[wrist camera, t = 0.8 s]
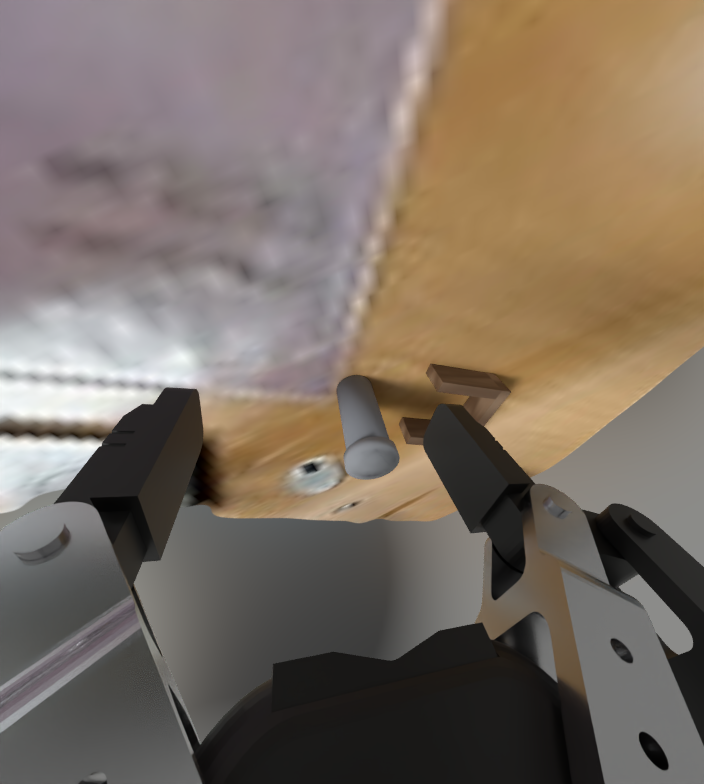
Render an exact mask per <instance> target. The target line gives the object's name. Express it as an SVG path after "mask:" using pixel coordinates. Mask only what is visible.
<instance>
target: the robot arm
mask: <svg viewBox="0 0 704 784" xmlns="http://www.w3.org/2000/svg"><path fill="white" fill-rule="evenodd" d="M202 442H203V423H202V415H201V407H200V399H199V393H198V391H197V389H185V388H168V387H167V388H165V389H164V390H163V391H162V393H161V394H160V396H159V397H158V399H157V400H156V402H155V403H154V405H150V404H142V405H140V406H139V407H137V408H135V409H134V410H132V411H131V412H129V413H128V414H126V415H124V416H123V417H122V419H121V420H120V421H119V422H118V424H117V425H116V426H115V427H114V429H113V430H112V434H109V435H108V436H107V438H106V439H105V440H104V441H103V443H102V446H101V447H99V448H98V449H97V450H96V451H95V453H94V454H93V455H92V456H91V458H90V459H89V460H88V462H87V463H86V464H85V465H84V467H83V468H82V469H81V470H80V472H79V473H78V474H77V475H76V477H75V478H74V479H73V480H72V482H71V483H70V484H69V485H68V487H67V488H66V489H65V491H64V492H63V493H62V494H61V496H60V497H59V498H58V499H57V501H56V502H55V503H54V504H53V505H49V506H45V507H42V508H40V509H37V510H35V511H32V512H30V513H28V514H25V515H24V516H22V517H20V518H18V519H16V520H15V521H13V522H11V523H10V524H8V525H7V526H5V527H4V528H3V529H1V530H0V784H704V567H703V566H702V565H701V564H699V562H697V561H696V560H695V559H694V558H693V557H692V556H691V555H690V554H689V553H687V552H686V551H685V550H684V549H683V548H682V547H681V546H680V545H678V544H677V543H676V542H675V541H674V540H673V539H672V538H671V537H670V536H669V535H667V534H666V533H665V532H664V531H663V530H662V529H661V528H660V527H659V526H657V525H656V524H655V523H654V522H653V521H651V520H650V519H649V518H647V517H646V516H644V515H643V514H641V513H639V512H638V511H636V510H634V509H632V508H630V507H628V506H624V505H622V504H611V505H609V506H608V507H607V508H606V509H605V510H604V511H603V512H601V513H600V514H597V513H593V512H590V511H586V510H582V509H581V508H580V507H579V506H578V505H577V504H576V503H575V502H574V501H573V500H572V499H571V498H570V497H568V496H567V495H566V494H564V493H563V492H561V491H559V490H557V489H555V488H553V487H551V486H548V485H544V484H535V483H534V482H533V481H532V480H531V478H530V477H529V476H528V475H527V474H526V473H525V472H524V471H523V469H522V468H521V467H520V466H519V465H518V464H517V463H516V462H515V460H514V459H513V458H512V457H511V456H510V455H509V454H508V453H507V451H506V450H503V447H502V446H501V445H500V444H499V442H498V441H495V438H494V437H493V436H492V435H491V433H490V432H489V431H488V430H487V429H486V428H485V427H484V426H482V425H481V424H480V423H478V422H477V421H476V420H475V419H474V418H473V417H472V416H471V415H470V414H469V412H468V411H467V410H466V409H465V408H464V407H463V406H462V405H455V404H440V405H438V406H437V408H436V410H435V412H434V414H433V416H432V419H431V421H430V423H429V425H428V427H427V430H426V432H425V434H424V438H423V446H424V450H425V452H426V454H427V455H428V457H429V459H430V461H431V463H432V464H433V466H434V468H435V470H436V472H437V473H438V475H439V477H440V479H441V481H442V482H443V484H444V486H445V488H446V490H447V491H448V493H449V495H450V497H451V499H452V500H453V502H454V504H455V506H456V508H457V509H458V511H459V513H460V515H461V516H462V518H463V520H464V522H465V524H466V525H467V527H468V529H469V531H470V533H479V532H487V533H488V536H489V538H488V539H487V540H486V542H485V548H484V573H483V597H482V606H481V610H480V613H479V615H478V617H477V619H476V622H475V624H471V625H466V626H461V627H456V628H451V629H446V630H441V631H438V632H437V633H435V634H434V635H432V636H431V637H429V638H428V639H426V640H425V641H423V642H422V643H420V644H419V645H418V646H416V647H415V648H413V649H412V650H410V651H409V652H407V653H406V654H404V655H403V656H401V657H400V658H398V659H396V660H393V661H387V660H381V659H375V658H368V657H362V656H356V655H350V654H343V653H337V652H330V653H325V654H320V655H316V656H310V657H306V658H300V659H295V660H290V661H286V662H281V663H276V664H273V668H272V675H271V679H269V680H268V681H266V682H264V683H263V684H261V685H260V686H258V687H256V688H255V689H254V690H252V691H251V692H250V693H248V694H247V695H246V696H245V697H243V698H242V699H241V700H240V701H239V702H238V703H236V704H235V705H234V706H233V707H232V708H231V709H230V710H229V711H228V712H227V713H226V714H225V715H224V716H223V717H222V719H221V720H220V721H219V722H218V723H217V724H216V726H215V727H214V728H213V729H212V730H211V731H210V733H209V734H208V735H207V736H206V738H205V739H204V741H203V742H202V744H201V743H200V740H199V738H198V735H197V733H196V730H195V728H194V726H193V723H192V721H191V719H190V716H189V713H188V711H187V709H186V706H185V704H184V701H183V699H182V697H181V695H180V692H179V690H178V688H177V685H176V683H175V681H174V679H173V676H172V674H171V672H170V670H169V667H168V665H167V663H166V660H165V658H164V656H163V653H162V651H161V648H160V646H159V643H158V641H157V639H156V636H155V634H154V631H153V629H152V627H151V624H150V622H149V619H148V617H147V615H146V612H145V609H144V607H143V605H142V602H141V600H140V597H139V595H138V593H137V590H136V588H135V585H134V581H135V579H136V576H137V574H138V572H139V569H140V567H141V564H142V562H146V561H158V560H161V557H162V554H163V552H164V549H165V546H166V543H167V541H168V538H169V535H170V532H171V530H172V527H173V524H174V522H175V519H176V516H177V513H178V511H179V508H180V505H181V502H182V500H183V497H184V494H185V492H186V489H187V486H188V483H189V481H190V478H191V475H192V472H193V470H194V467H195V464H196V461H197V459H198V456H199V453H200V450H201V447H202ZM638 574H639V575H640V576H641V577H642V578H643V579H644V580H645V581H646V582H647V584H648V585H649V586H650V587H651V588H652V589H653V590H654V591H655V592H656V593H657V594H658V596H659V597H660V598H661V599H662V600H663V601H664V602H665V603H666V604H667V606H668V607H669V608H670V609H671V610H672V611H673V612H674V613H675V614H676V615H677V616H678V617H679V619H680V620H681V621H682V622H683V623H684V624H685V626H686V627H687V628H688V630H689V631H690V633H691V635H692V638H693V648H692V649H691V650H690V651H688V652H685V653H683V654H680V655H678V654H676V653H674V652H673V651H672V650H671V649H670V648H669V647H668V646H667V645H666V644H665V643H664V642H663V641H662V639H661V638H660V637H659V636H658V634H657V633H656V632H655V630H654V627H653V625H652V622H651V620H650V618H649V616H648V614H647V612H646V610H645V609H644V607H643V605H642V604H641V603H640V602H639V601H638V600H636V599H635V598H634V597H632V596H630V595H628V594H626V593H624V592H622V591H621V589H620V588H619V586H620V585H622V584H623V583H625V582H627V581H628V580H630V579H631V578H633V577H635V576H636V575H638Z"/></svg>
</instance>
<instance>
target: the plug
mask: <svg viewBox="0 0 704 784" xmlns="http://www.w3.org/2000/svg"><path fill="white" fill-rule="evenodd" d="M337 397H338V403H339V409H340V415H341V421H342V427H343V433H344V439H345V445H346V451H345V453H344V462H345V469H346V472H347V473H348V474H349V475H350V476H352V477H354V478H357V479H375V478H379V477H382V476H384V475H386V474H388V473H390V472H391V471H392V470H393V469H395V467H396V466H397V465H398V463H399V454H398V451H397V449H396V446H395V444H394V442H393V441H391V440H390V439H389V437H388V434H387V431H386V427H385V424H384V421H383V418H382V415H381V412H380V409H379V406H378V403H377V400H376V397H375V394H374V391H373V388H372V385H371V382H370V381H369V380H368V379H367V378H366V377H364V376H360V375H352V376H349V377H346V378H344V379H343V380H342V381H341V382H340V383H339V384H338V386H337Z"/></svg>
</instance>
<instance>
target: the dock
mask: <svg viewBox="0 0 704 784" xmlns="http://www.w3.org/2000/svg"><path fill="white" fill-rule="evenodd" d="M426 374H427V376H428V377H429V379H430V381H431V382H432V384H433V385H434V387H435V389H436V390H437V392H443V393H451V394H458V395H466V396H470V397H469V398H468V400H467V401H466V403H465V404H464V405H463V407H464V408H465V409H466V410H467V411H468V412H469V414H470V415H471V416H472V417H473V418H474V419H475V420H476V421H477V422H478V423H480V424H481V425H482V426H484V425H485V424H486V423H487V422H488V420H489V419H490V418H491V417H492V415H493V414H494V413H495V412H496V410H497V409H498V408H499V407H500V405H501V404H502V403H503V402H504V400H505V399H506V398H507V397H508V395H509V394H510V393H511V391H510V390H509V389H508V388H507V387H506V386H505V385H504V384H503V383H502V381H501V380H500V379H499V378H498V377H497V376H496V375H495V374H491V373H484V372H478V371H472V370H466V369H459V368H453V367H447V366H441V365H435V364H430V366H429V368H428V370H427V372H426ZM430 421H431V420H425V419H414V418H404V417H402V419H401V421H400V423H399V426H400V428H401V431H402V433H403V436H404V439H405V441H406V444H414V445H423V438H424V434H425V432H426V430H427V427H428V425H429V423H430Z"/></svg>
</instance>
